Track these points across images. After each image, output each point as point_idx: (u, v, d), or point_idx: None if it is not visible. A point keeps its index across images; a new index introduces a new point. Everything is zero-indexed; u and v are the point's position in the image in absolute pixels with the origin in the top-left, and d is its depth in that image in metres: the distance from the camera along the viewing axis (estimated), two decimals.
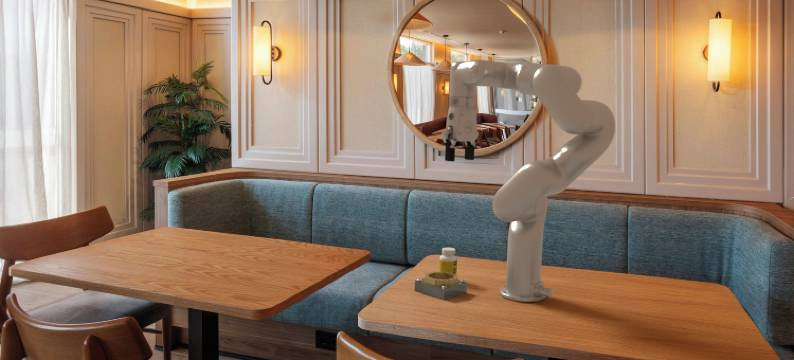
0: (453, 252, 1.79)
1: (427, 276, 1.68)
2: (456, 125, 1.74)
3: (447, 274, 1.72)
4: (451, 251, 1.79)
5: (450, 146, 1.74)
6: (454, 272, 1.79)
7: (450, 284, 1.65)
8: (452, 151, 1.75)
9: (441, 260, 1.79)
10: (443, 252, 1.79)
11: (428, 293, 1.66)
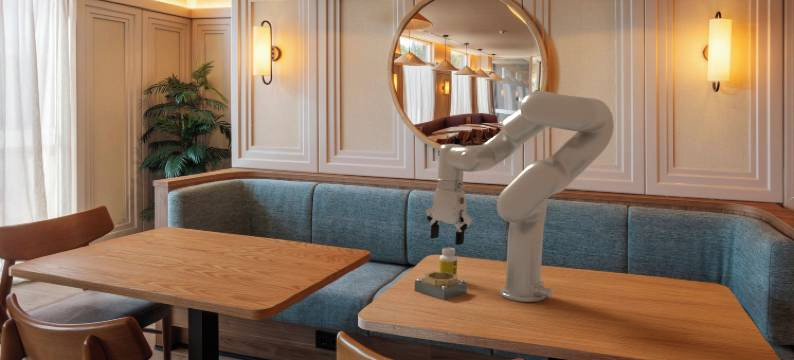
0: (453, 252, 1.79)
1: (427, 276, 1.68)
2: (465, 208, 1.77)
3: (447, 274, 1.72)
4: (451, 251, 1.79)
5: (465, 230, 1.76)
6: (454, 272, 1.79)
7: (450, 284, 1.65)
8: None
9: (441, 260, 1.79)
10: (443, 252, 1.79)
11: (428, 293, 1.66)
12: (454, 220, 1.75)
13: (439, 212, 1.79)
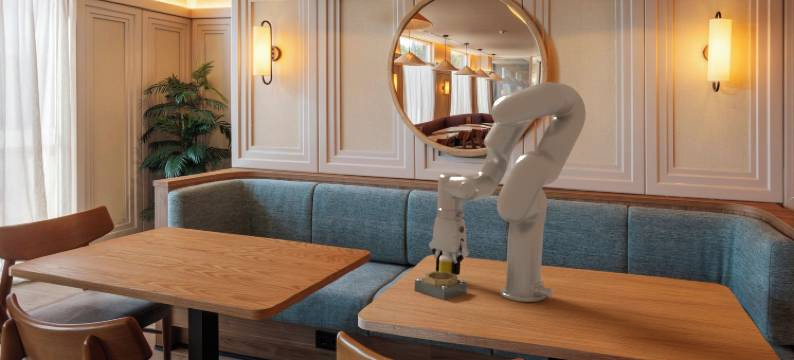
0: None
1: (427, 276, 1.68)
2: (465, 237, 1.78)
3: (447, 274, 1.72)
4: None
5: (461, 261, 1.78)
6: None
7: (450, 284, 1.65)
8: None
9: (441, 260, 1.79)
10: (443, 252, 1.79)
11: (428, 293, 1.66)
12: (455, 249, 1.76)
13: (439, 241, 1.79)
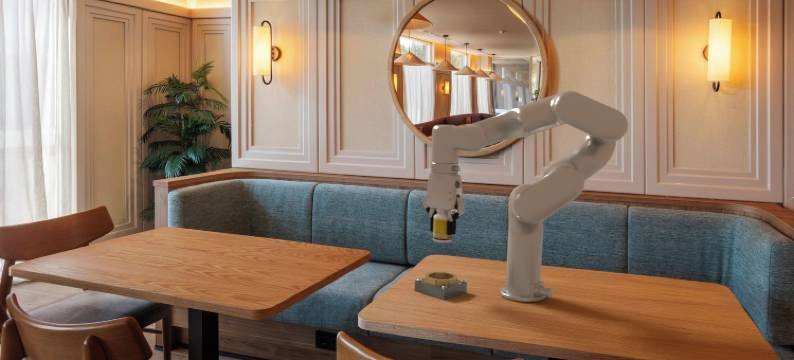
0: None
1: (427, 276, 1.68)
2: (462, 193, 1.65)
3: (447, 274, 1.72)
4: None
5: (457, 219, 1.65)
6: None
7: (450, 284, 1.65)
8: None
9: (435, 219, 1.66)
10: (437, 210, 1.66)
11: (428, 293, 1.66)
12: (450, 206, 1.63)
13: (434, 198, 1.66)
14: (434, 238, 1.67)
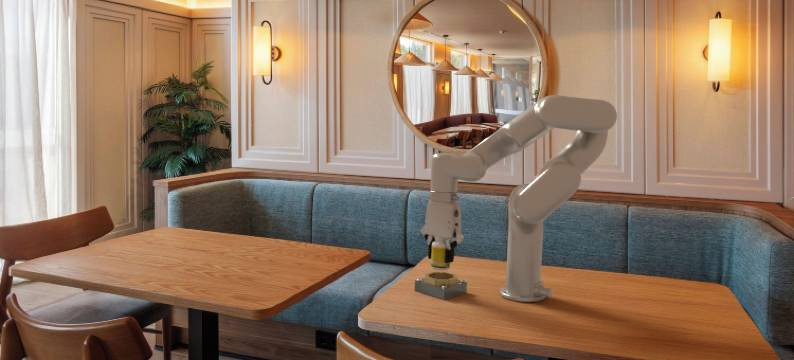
0: None
1: (427, 276, 1.68)
2: (460, 221, 1.65)
3: (447, 274, 1.72)
4: None
5: (455, 247, 1.66)
6: None
7: (450, 284, 1.65)
8: None
9: (434, 247, 1.67)
10: (436, 238, 1.67)
11: (428, 293, 1.66)
12: (448, 234, 1.63)
13: (432, 226, 1.67)
14: (432, 265, 1.68)
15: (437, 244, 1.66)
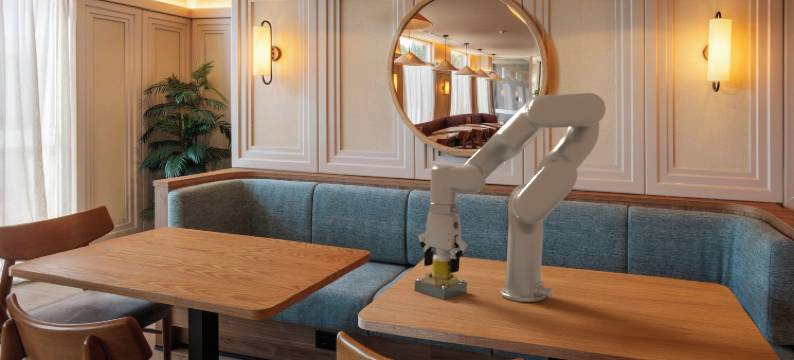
0: (447, 251, 1.67)
1: (427, 276, 1.68)
2: (460, 233, 1.66)
3: None
4: None
5: (460, 256, 1.65)
6: (448, 273, 1.67)
7: (450, 284, 1.65)
8: None
9: (435, 260, 1.67)
10: (437, 251, 1.67)
11: (428, 293, 1.66)
12: (448, 246, 1.64)
13: (432, 238, 1.67)
14: None
15: (438, 257, 1.66)
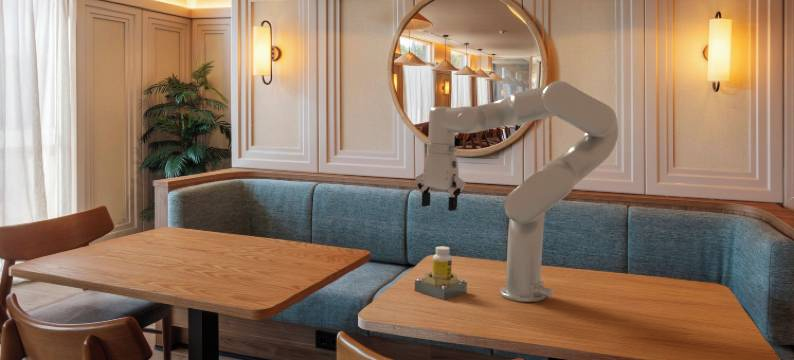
0: (447, 251, 1.67)
1: (427, 276, 1.68)
2: None
3: None
4: (445, 250, 1.66)
5: (458, 195, 1.70)
6: (448, 273, 1.67)
7: (450, 284, 1.65)
8: None
9: (435, 260, 1.67)
10: (437, 251, 1.67)
11: (428, 293, 1.66)
12: (447, 185, 1.69)
13: (430, 178, 1.72)
14: None
15: (438, 257, 1.66)
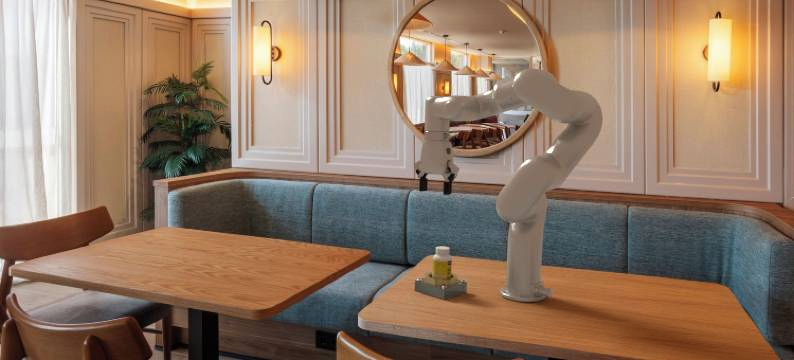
0: (447, 251, 1.67)
1: (427, 276, 1.68)
2: (452, 159, 1.79)
3: None
4: (445, 250, 1.66)
5: (453, 180, 1.79)
6: (448, 273, 1.67)
7: (450, 284, 1.65)
8: None
9: (435, 260, 1.67)
10: (437, 251, 1.67)
11: (428, 293, 1.66)
12: (441, 170, 1.77)
13: (427, 164, 1.81)
14: None
15: (438, 257, 1.66)
